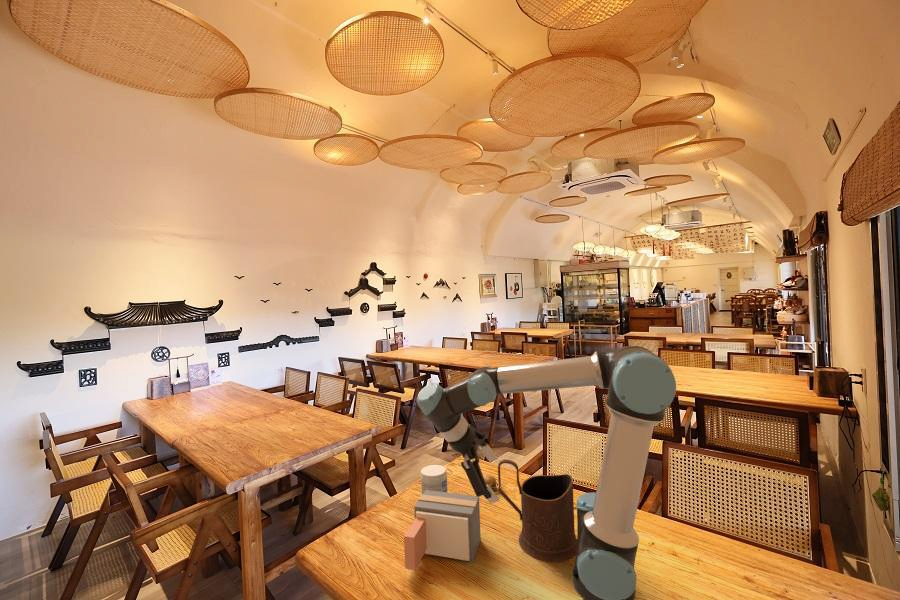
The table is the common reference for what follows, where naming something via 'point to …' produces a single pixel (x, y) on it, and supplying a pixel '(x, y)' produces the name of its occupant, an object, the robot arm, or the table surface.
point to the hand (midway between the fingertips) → (494, 479)
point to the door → (436, 538)
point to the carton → (454, 512)
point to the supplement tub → (434, 478)
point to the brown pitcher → (546, 516)
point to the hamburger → (491, 482)
